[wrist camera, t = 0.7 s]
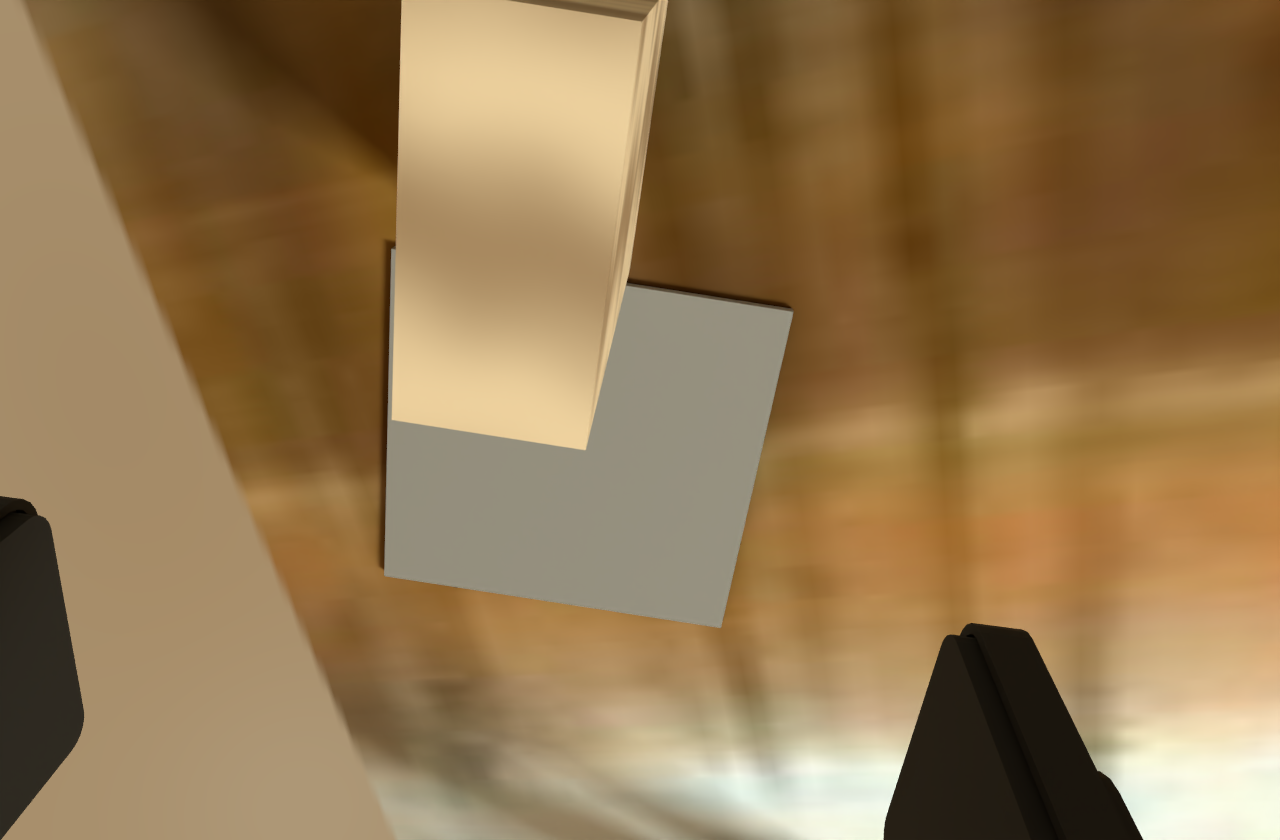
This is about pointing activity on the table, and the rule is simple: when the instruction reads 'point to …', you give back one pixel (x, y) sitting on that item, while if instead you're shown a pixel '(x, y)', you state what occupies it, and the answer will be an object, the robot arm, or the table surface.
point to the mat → (604, 472)
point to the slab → (517, 207)
